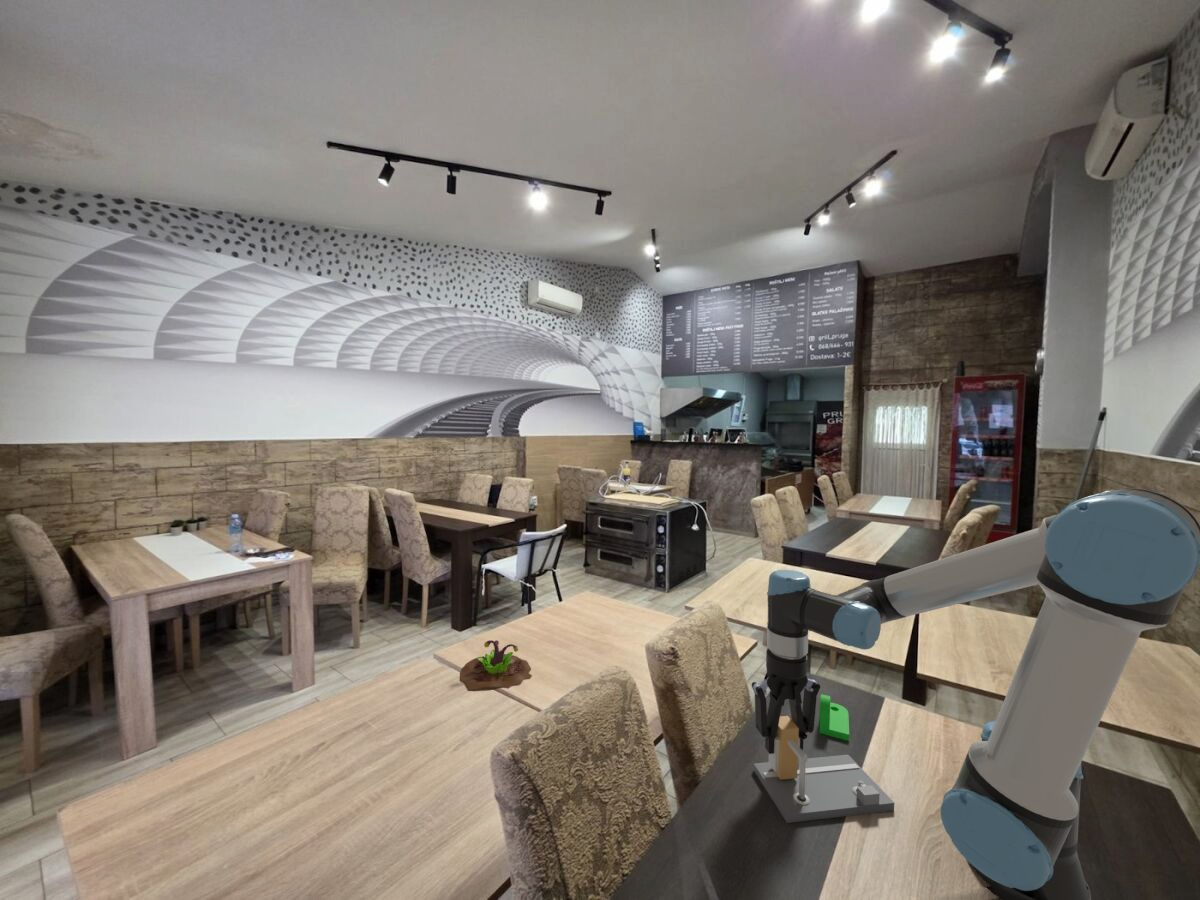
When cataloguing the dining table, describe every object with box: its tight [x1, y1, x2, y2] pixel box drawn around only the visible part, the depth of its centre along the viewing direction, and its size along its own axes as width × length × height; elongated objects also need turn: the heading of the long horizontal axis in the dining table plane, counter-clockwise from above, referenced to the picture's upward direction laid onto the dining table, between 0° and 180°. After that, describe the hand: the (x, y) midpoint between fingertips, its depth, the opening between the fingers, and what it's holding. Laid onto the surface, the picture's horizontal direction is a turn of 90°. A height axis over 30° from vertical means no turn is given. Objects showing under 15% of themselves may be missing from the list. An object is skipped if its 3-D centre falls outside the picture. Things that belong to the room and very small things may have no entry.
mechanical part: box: [819, 693, 850, 742], centre depth 113 cm, size 12×6×8 cm, turn 154°
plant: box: [459, 640, 533, 692], centre depth 133 cm, size 20×20×11 cm
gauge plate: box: [753, 754, 895, 824], centre depth 93 cm, size 13×21×4 cm, turn 98°
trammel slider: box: [775, 715, 808, 797], centre depth 92 cm, size 9×4×10 cm, turn 8°
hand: (783, 766), depth 95 cm, fingers closed on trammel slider, 3 cm apart
